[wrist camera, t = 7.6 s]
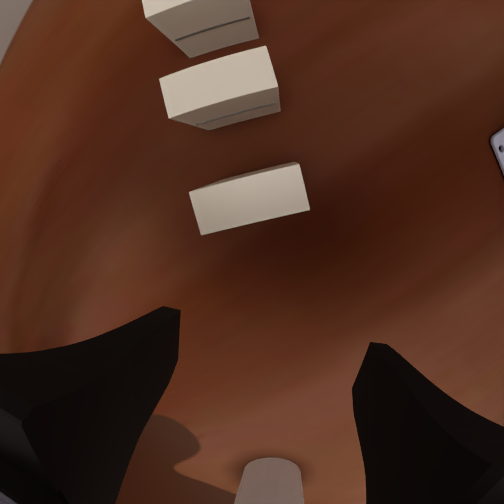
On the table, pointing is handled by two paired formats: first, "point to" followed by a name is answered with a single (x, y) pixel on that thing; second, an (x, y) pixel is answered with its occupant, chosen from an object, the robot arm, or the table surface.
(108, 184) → the table surface
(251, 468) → the shot glass
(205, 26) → the tile
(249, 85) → the tile
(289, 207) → the lead tile
